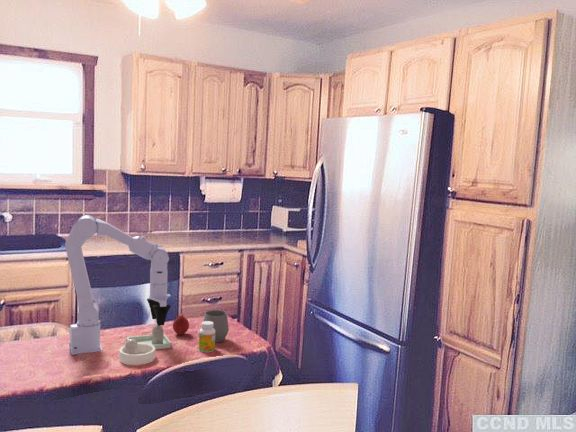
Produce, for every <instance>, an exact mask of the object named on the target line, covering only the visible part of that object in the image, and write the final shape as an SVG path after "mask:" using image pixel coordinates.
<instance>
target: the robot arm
mask: <svg viewBox="0 0 576 432" xmlns="http://www.w3.org/2000/svg"><path fill="white" fill-rule="evenodd" d="M71 227H72V228H71V230H70V232H69V233H68V237H67V238H66V241H65V243H64V247H65V253H66V255H67V256H66V257H67V259H68V265H69V268H70V273H71V277H72V280H73V281H72V282H73V284H74V290H75V293H76V297H77V304H78V305H77V306H78V314H77V319H78V320H77V321H76V323H74V324H69V343H68V344H69V345H68V346H69V349H70V350H69V351H70V354H71V355H72V356H74V355H77V354H86V353H87V354H88V353H95V352H102V351H103V348H102V345H101V320H100V319H99V317H100V314H99V312H100V306H99V304H98V303H97V301H96V300H95V298H94V295H93V292H92V286H91V282H90V278H89V274H88V271H87V267H86V262H85V258H84V254H83V248H82V247H83V245H84V244H85V243H86V241H88V239H90V238H92V237H93V236H94V235H95V234H96V236H97V237H101V236H102V237H103V236H107V237H110V238H112V239H114V240H115V241H117V242H119V243H122V244H124V245H126V246H128V249H129V251H130V253H132V254H135V255H137V256H139V257H141V258H142V259H145V260H146V261H147V260H148V261H149V260H150V269H149V270H150V271H149V297H148V298H146V301H147V303H148V306H149V309H150V316H151V318H152V320H156V321H155V322H156V324H157V325H158V326H161V327H162V326H165V323H166V319H167V315H168V313H169V310H170V309H171V305H170V304H167V300H168V298H171V297H172V296H171V294H170V293H168V272H169V271H168V263H169V261H170V257H169V253H168V252H167V250H166V249H165V248H164V247H163V246H160V245H159V244H157V243H155V244H154V243H153V242H151V241H149V240H147V238H146V237H145V236H143V235H142V236H139V235H137V236H132V235H129V234H128V233H126V232H124V231H123V230H120V229H119V228H117V227H116V226H114V225H112V224H111V223H109V222H107V221H105V220H102V219H99V218H95V217H94V216H92V215H90V214H85V215H82V216H80V217H79V218H78V219H77V220H76V221H75V222H74V223H73V225H72V226H71ZM157 325H156V326H157Z"/></svg>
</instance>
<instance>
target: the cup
mask: <svg viewBox="0 0 576 432" xmlns="http://www.w3.org/2000/svg"><path fill="white" fill-rule="evenodd" d="M204 321H211V322H213V323H214V326H213V328H214V329H215V343H221V342H223V341H224V340H225V339H226V337H227V336H228V333H229V330H230V327H229V321H228V313H227V312H226V311H225V310H220V309H217V310H216V309H215V310H214V309H213V310H212V309H211V310H208V311H205V313H204V317H203V321H202V322H204Z"/></svg>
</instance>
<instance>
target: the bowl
mask: <svg viewBox="0 0 576 432" xmlns="http://www.w3.org/2000/svg"><path fill="white" fill-rule="evenodd" d="M156 350H157V349H156V348H155V347H154V346H153V345H150V344H144V343H138V350H137V355H136V354H127V353H125V345H123V346H121V347H120V348H119V349H118V360H119V362H120V363H122V364H124V365H128V366H138V365H139V366H140V365H141V366H142V365H146V364H149V363H151V362H153V361H154V360H155V359H156V354H157V353H156Z"/></svg>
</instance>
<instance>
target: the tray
mask: <svg viewBox="0 0 576 432" xmlns="http://www.w3.org/2000/svg"><path fill="white" fill-rule="evenodd" d="M129 339H134V340H136V341H137V343H144V344H150V345H152V334H146V335H133V336H126V337H125V343H126V342H127V341H128V340H129ZM153 346H154V347H155V348H156V350H162V349H163V350H164V349H170V348H171V349H172V347H173V345H172V341H171V340H170V339H169V338H168V337H167V335H166V334H165V333H164V332H163V344H155V345H153Z"/></svg>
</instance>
